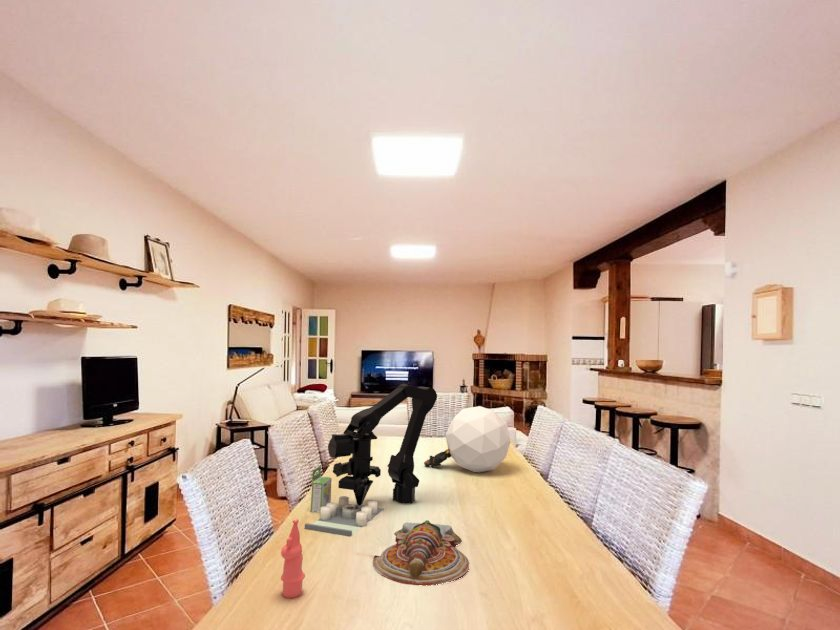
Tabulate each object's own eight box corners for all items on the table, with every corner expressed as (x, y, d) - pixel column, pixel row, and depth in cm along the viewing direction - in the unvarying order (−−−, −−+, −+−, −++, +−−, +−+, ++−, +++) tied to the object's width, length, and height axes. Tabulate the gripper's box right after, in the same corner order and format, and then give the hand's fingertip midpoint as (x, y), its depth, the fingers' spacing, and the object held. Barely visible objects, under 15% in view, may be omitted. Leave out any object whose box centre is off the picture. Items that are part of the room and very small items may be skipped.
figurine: (281, 586, 103) (285, 514, 104) (306, 586, 104) (309, 514, 105) (276, 599, 98) (280, 523, 99) (302, 598, 99) (305, 523, 100)
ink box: (322, 516, 146) (323, 471, 147) (309, 515, 147) (311, 470, 148) (330, 509, 153) (332, 466, 154) (319, 507, 154) (320, 465, 155)
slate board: (384, 512, 152) (384, 504, 152) (350, 540, 129) (350, 531, 129) (344, 506, 156) (344, 499, 156) (304, 532, 133) (304, 524, 134)
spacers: (382, 511, 149) (382, 501, 149) (363, 527, 136) (364, 515, 136) (340, 505, 153) (340, 495, 153) (318, 519, 140) (318, 508, 141)
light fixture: (522, 456, 189) (488, 391, 198) (433, 501, 193) (403, 436, 202) (524, 453, 215) (493, 396, 224) (445, 493, 218) (418, 435, 227)
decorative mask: (472, 511, 134) (469, 558, 105) (471, 538, 134) (468, 594, 104) (388, 504, 137) (362, 549, 108) (387, 531, 137) (361, 583, 107)
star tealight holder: (345, 512, 147) (345, 504, 148) (361, 514, 146) (361, 506, 146) (338, 517, 143) (338, 508, 143) (354, 519, 141) (355, 511, 142)
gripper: (351, 446, 163) (349, 493, 162) (323, 457, 145) (321, 511, 144) (382, 449, 160) (380, 497, 159) (357, 461, 142) (355, 516, 141)
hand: (359, 505), depth 151 cm, fingers closed
